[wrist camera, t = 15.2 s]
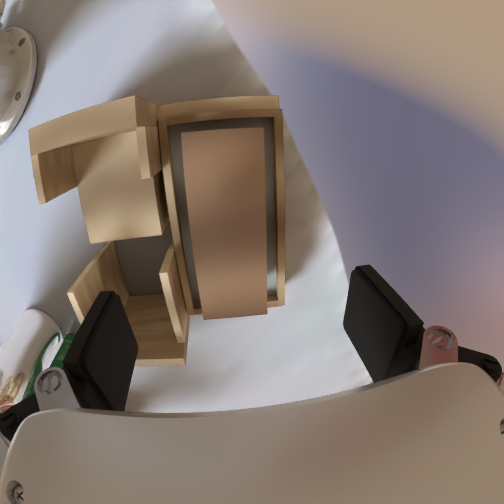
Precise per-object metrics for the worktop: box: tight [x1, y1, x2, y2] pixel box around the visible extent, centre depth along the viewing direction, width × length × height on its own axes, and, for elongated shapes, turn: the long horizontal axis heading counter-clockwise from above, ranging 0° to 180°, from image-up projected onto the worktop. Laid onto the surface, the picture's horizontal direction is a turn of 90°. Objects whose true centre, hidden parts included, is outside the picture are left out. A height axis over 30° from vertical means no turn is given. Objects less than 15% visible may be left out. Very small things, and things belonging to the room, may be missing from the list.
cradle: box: [29, 95, 285, 366], centre depth 17 cm, size 16×14×8 cm
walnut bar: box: [181, 127, 267, 320], centre depth 16 cm, size 11×4×4 cm, turn 2°
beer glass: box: [0, 309, 64, 417], centre depth 17 cm, size 7×7×15 cm
